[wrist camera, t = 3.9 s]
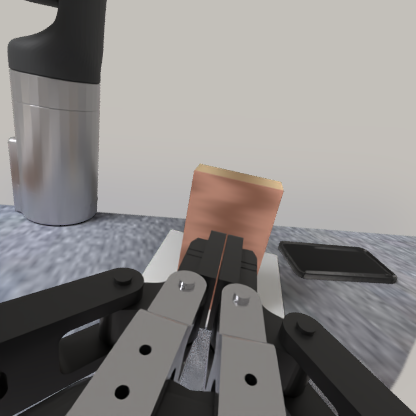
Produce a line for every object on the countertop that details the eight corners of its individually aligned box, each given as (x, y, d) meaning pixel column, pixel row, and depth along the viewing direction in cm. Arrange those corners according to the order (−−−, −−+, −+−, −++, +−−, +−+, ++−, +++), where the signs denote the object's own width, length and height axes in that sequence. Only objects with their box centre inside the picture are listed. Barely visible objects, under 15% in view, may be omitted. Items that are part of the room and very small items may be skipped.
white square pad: (124, 305, 26) (124, 301, 26) (170, 231, 40) (171, 229, 39) (286, 349, 25) (287, 346, 24) (276, 257, 38) (277, 255, 38)
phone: (401, 279, 38) (300, 273, 35) (397, 286, 38) (297, 280, 35) (363, 247, 45) (277, 239, 42) (360, 253, 45) (275, 246, 42)
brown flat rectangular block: (172, 299, 27) (194, 170, 22) (178, 284, 29) (200, 163, 24) (243, 318, 26) (283, 191, 21) (244, 301, 29) (281, 181, 23)
